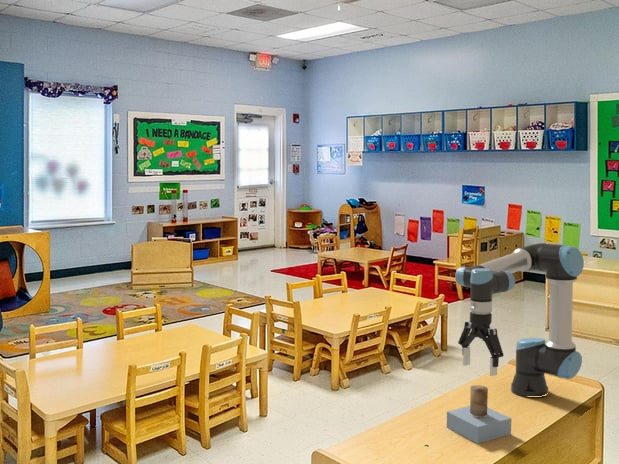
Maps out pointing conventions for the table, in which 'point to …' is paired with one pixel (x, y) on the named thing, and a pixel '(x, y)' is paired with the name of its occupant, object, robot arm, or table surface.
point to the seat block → (479, 425)
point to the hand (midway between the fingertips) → (479, 370)
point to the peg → (478, 401)
